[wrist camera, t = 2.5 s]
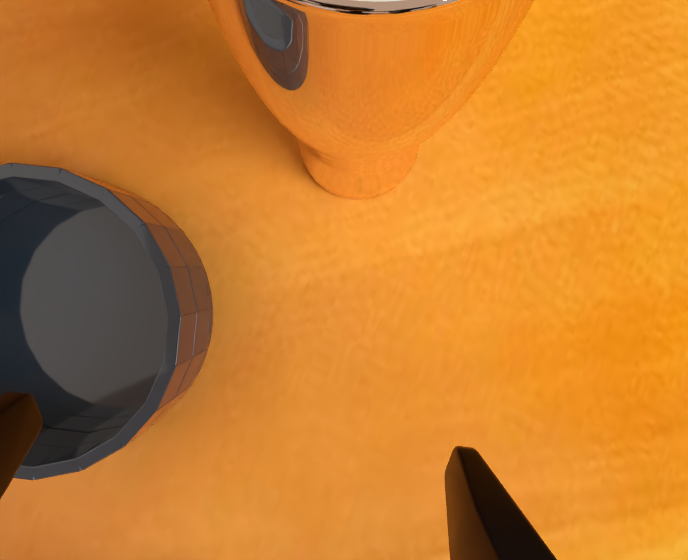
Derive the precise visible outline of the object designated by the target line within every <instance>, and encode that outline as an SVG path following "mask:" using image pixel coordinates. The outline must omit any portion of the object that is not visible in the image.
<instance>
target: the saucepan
mask: <svg viewBox="0 0 688 560" xmlns="http://www.w3.org/2000/svg"><path fill="white" fill-rule="evenodd" d="M212 324H213V306H212V298H211V290H210V286H209V282H208V278H207V274H206V272H205V269H204V267H203V264H202V262H201V259H200V257H199V255H198V254H197V252H196V250H195V248H194V246H193V245H192V243H191V242H190V240H189V239H188V238H187V236H186V235H185V234H184V232H183V231H182V230H181V229H180V228H179V227H178V226H177V225H176V223H175V222H174V221H173V220H172V219H171V218H170V217H168V216H167V215H166V214H165V213H163V212H162V211H161V210H160V209H158V208H157V207H156V206H154V205H152V204H151V203H149V202H148V201H146V200H144V199H142V198H140V197H138V196H135V195H133V194H131V193H128V192H126V191H124V190H121V189H119V188H117V187H115V186H112V185H109V184H107V183H104V182H101V181H98V180H95V179H92V178H89V177H86V176H84V175H81V174H78V173H75V172H72V171H69V170H66V169H63V168H58V167H48V166H39V165H30V164H21V163H8V164H3V165H0V395H2V394H4V393H6V392H10V391H17V392H25V393H30V394H32V395H33V396H34V398H35V400H36V403H37V405H38V408H39V410H40V413H41V415H42V418H43V424H42V428H41V430H40V432H39V434H38V436H37V437H36V439H35V441H34V443H33V444H32V446H31V448H30V449H29V451H28V453H27V455H26V456H25V458H24V460H23V461H22V463H21V465H20V467H19V468H18V470H17V472H16V474H15V475H14V477H13V478H18V479H27V480H38V479H43V478H48V477H53V476H58V475H63V474H68V473H73V472H78V471H81V470H85V469H86V468H88V467H90V466H92V465H93V464H95V463H97V462H99V461H100V460H102V459H104V458H106V457H108V456H109V455H111V454H113V453H115V452H116V451H118V450H120V449H122V448H123V447H125V446H126V445H127V444H128V443H130V442H131V441H132V440H134V439H135V438H136V437H137V436H139V435H140V434H141V433H142V432H144V431H145V430H146V429H148V428H149V427H150V426H151V425H153V424H154V423H155V422H157V421H158V420H159V419H160V418H162V417H163V416H164V415H165V414H166V413H167V412H168V411H169V409H170V408H171V407H172V406H174V405H175V404H176V403H177V402H178V401H179V400H180V399H181V398H182V396H183V395H184V394H185V392H186V391H187V390H188V389H189V387H190V386H191V385H192V383H193V381H194V380H195V378H196V376H197V375H198V373H199V371H200V369H201V366H202V364H203V362H204V359H205V357H206V354H207V350H208V346H209V343H210V338H211V331H212Z"/></svg>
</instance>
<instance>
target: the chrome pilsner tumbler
mask: <svg viewBox="0 0 688 560" xmlns="http://www.w3.org/2000/svg"><path fill="white" fill-rule="evenodd" d="M207 2H208V4H209V6H210V9H211V11H212V13H213V15H214V18H215V20H216V22H217V24H218V26H219V28H220V30H221V32H222V34H223V36H224V38H225V40H226V42H227V44H228V46H229V48H230V50H231V52H232V54H233V56H234V58H235V60H236V61H237V63H238V65H239V66H240V68H241V70H242V71H243V73H244V74H245V76H246V78H247V79H248V81H249V82H250V84H251V86H252V87H253V89H254V90H255V92H256V93H257V95H258V96H259V98H260V99H261V101H262V102H263V103H264V104H265V106H266V107H267V108H268V109H269V110H270V111H271V112H272V114H273V115H274V116H275V117H276V118H277V119H278V120H279V121H280V122H281V123H282V124H283V126H284V127H285V128H286V129H287V130H288V131H290V132H291V133H292V134H293V135H294V136H295V137H297V138H298V143H299V149H300V153H301V157H302V160H303V162H304V164H305V166H306V168H307V170H308V172H309V173H310V175H311V176H312V177H313V179H314V180H315V181H316V182H317V183H318V184H319V185H321V186H322V187H323V188H325V189H326V190H328V191H329V192H331V193H333V194H336V195H338V196H341V197H345V198H350V199H368V198H373V197H377V196H380V195H382V194H384V193H387V192H388V191H390V190H392V189H393V188H395V187H396V186H397V185H398V184H400V183H401V182H402V181H403V180H404V179H405V177H406V176H407V175H408V174H409V172H410V170H411V169H412V167H413V165H414V163H415V161H416V158H417V155H418V151H419V147H420V144H421V143H423V142H424V141H426V140H427V139H429V138H430V137H431V136H433V135H434V134H435V133H436V132H437V131H438V130H440V129H441V128H442V127H443V126H444V125H445V124H446V123H447V122H449V121H450V120H451V119H452V118H453V117H454V116H455V115H456V114H457V113H458V112H459V111H460V110H461V109H462V108H463V107H464V106H465V104H466V103H467V102H468V101H469V99H470V98H471V97H472V96H473V94H474V93H475V92H476V90H477V89H478V88H479V87H480V85H481V84H482V83H483V82H484V80H485V79H486V78H487V76H488V75H489V74H490V72H491V71H492V70H493V68H494V67H495V65H496V64H497V62H498V60H499V59H500V57H501V56H502V54H503V52H504V51H505V49H506V48H507V46H508V45H509V43H510V41H511V40H512V38H513V37H514V35H515V34H516V32H517V30H518V29H519V27H520V25H521V24H522V22H523V20H524V18H525V16H526V15H527V13H528V11H529V9H530V7H531V6H532V4H533V2H534V0H207Z"/></svg>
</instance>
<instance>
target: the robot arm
mask: <svg viewBox="0 0 688 560" xmlns="http://www.w3.org/2000/svg"><path fill="white" fill-rule="evenodd" d="M42 424H43V418H42V415H41V413H40V410H39V408H38V405H37V403H36V400H35V398H34V396H33V395H32V394H30V393H25V392H17V391H10V392H6V393H4V394H2V395H0V499H1V497H2V496H3V494H4V492H5V491H6V489H7V487H8V486H9V484H10V482H11V480H12V479H13V477H14V475H15V474H16V472H17V470H18V468H19V467H20V465H21V463H22V461H23V460H24V458H25V456H26V455H27V453H28V451H29V449H30V448H31V446H32V444H33V443H34V441H35V439H36V437H37V436H38V434H39V432H40V430H41V428H42ZM445 491H446V506H447V521H448V536H449V549H450V559H451V560H557V559H556V558H555V556H554V555H553V554H552V552H551V551H550V550H549V548H548V547H547V545H546V544H545V543H544V541H543V540H542V539H541V537H540V536H539V535H538V533H537V532H536V530H535V529H534V528H533V526H532V525H531V524H530V522H529V521H528V520H527V518H526V517H525V515H524V514H523V513H522V511H521V510H520V509H519V507H518V506H517V504H516V503H515V502H514V500H513V499H512V498H511V496H510V495H509V494H508V492H507V491H506V489H505V488H504V487H503V485H502V484H501V483H500V481H499V480H498V479H497V477H496V476H495V474H494V473H493V472H492V470H491V469H490V468H489V466H488V465H487V464H486V462H485V461H484V459H483V458H482V457H481V455H480V454H479V453H478V451H477V450H475V449H474V448H471V447H463V446H456V447H455V448H454V450H453V452H452V454H451V457H450V460H449V462H448V465H447V467H446V471H445Z"/></svg>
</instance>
